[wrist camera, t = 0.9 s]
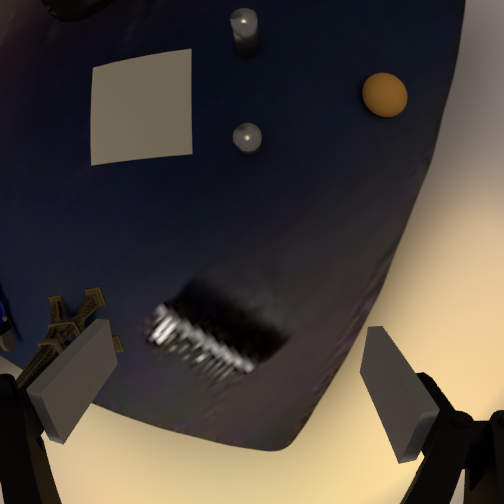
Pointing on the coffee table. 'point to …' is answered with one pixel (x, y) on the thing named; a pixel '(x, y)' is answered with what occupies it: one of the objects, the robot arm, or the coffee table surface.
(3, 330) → the figurine character
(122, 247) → the coffee table surface
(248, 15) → the post
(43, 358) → the eiffel tower
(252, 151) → the post
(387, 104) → the ball
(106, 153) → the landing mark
